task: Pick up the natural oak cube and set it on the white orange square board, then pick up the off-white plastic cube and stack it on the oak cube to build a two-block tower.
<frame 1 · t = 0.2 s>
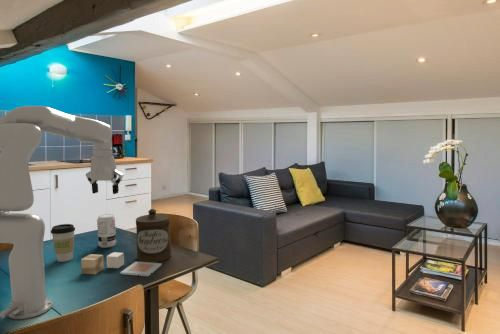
hand: (105, 193, 160), 30 cm above the table, tool pointing down, fingers open, 9 cm apart
supplement can: (107, 245, 185), on the table
coffee cup: (65, 259, 166), on the table
white orange square board: (141, 269, 153), on the table
cream block: (115, 265, 158), on the table
wooden container: (154, 257, 168), on the table
oak block: (93, 271, 152), on the table
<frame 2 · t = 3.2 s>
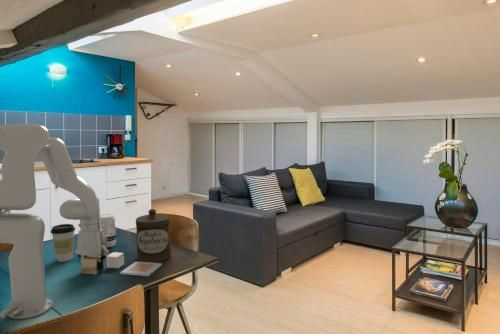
hand: (93, 269, 152), 1 cm above the table, tool pointing down, fingers closed on oak block, 6 cm apart
oak block: (93, 270, 152), on the table, touching gripper
everything else where it was.
when the fingers open (3 cm above the table, at t = 9.3 s): oak block drops 1 cm, resting on white orange square board.
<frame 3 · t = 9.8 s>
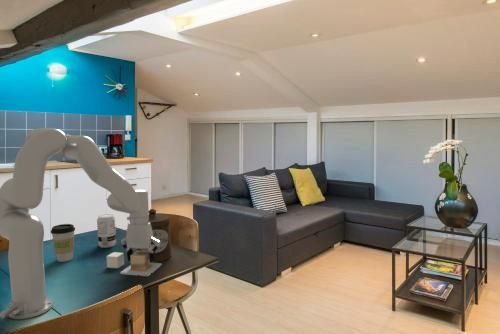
hand: (141, 260, 153), 4 cm above the table, tool pointing down, fingers open, 9 cm apart
oak block: (141, 267, 153), point 1 cm above the table, touching white orange square board
everything else where it was.
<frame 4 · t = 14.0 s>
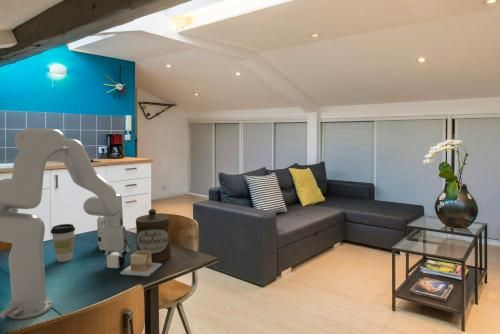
hand: (115, 264, 158), 0 cm above the table, tool pointing down, fingers closed on cream block, 5 cm apart
cream block: (115, 265, 158), on the table, touching gripper
everything else where it was.
when the fingers open (9 cm above the table, at t = 18.3 s): cream block drops 1 cm, resting on oak block.
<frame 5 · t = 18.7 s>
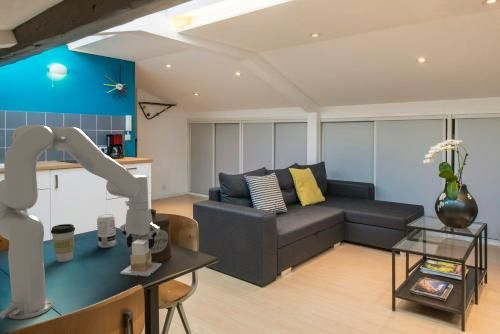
hand: (140, 246, 152), 10 cm above the table, tool pointing down, fingers open, 9 cm apart
cream block: (140, 253, 153), point 7 cm above the table, touching oak block
oak block: (141, 267, 153), point 1 cm above the table, touching white orange square board, cream block
everything else where it was.
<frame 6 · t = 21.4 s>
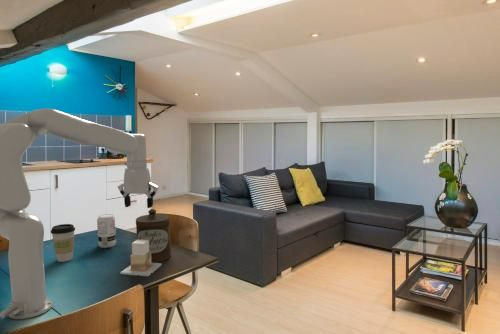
hand: (138, 206, 150), 26 cm above the table, tool pointing down, fingers open, 9 cm apart
nothing on the table moved.
at the end: oak block 0.0 cm off-centre on the white orange square board, point 0.9 cm above the white orange square board's base; cream block 0.0 cm off-centre on the oak block, point 6.0 cm above the oak block's base; cream block tilted 0° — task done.
